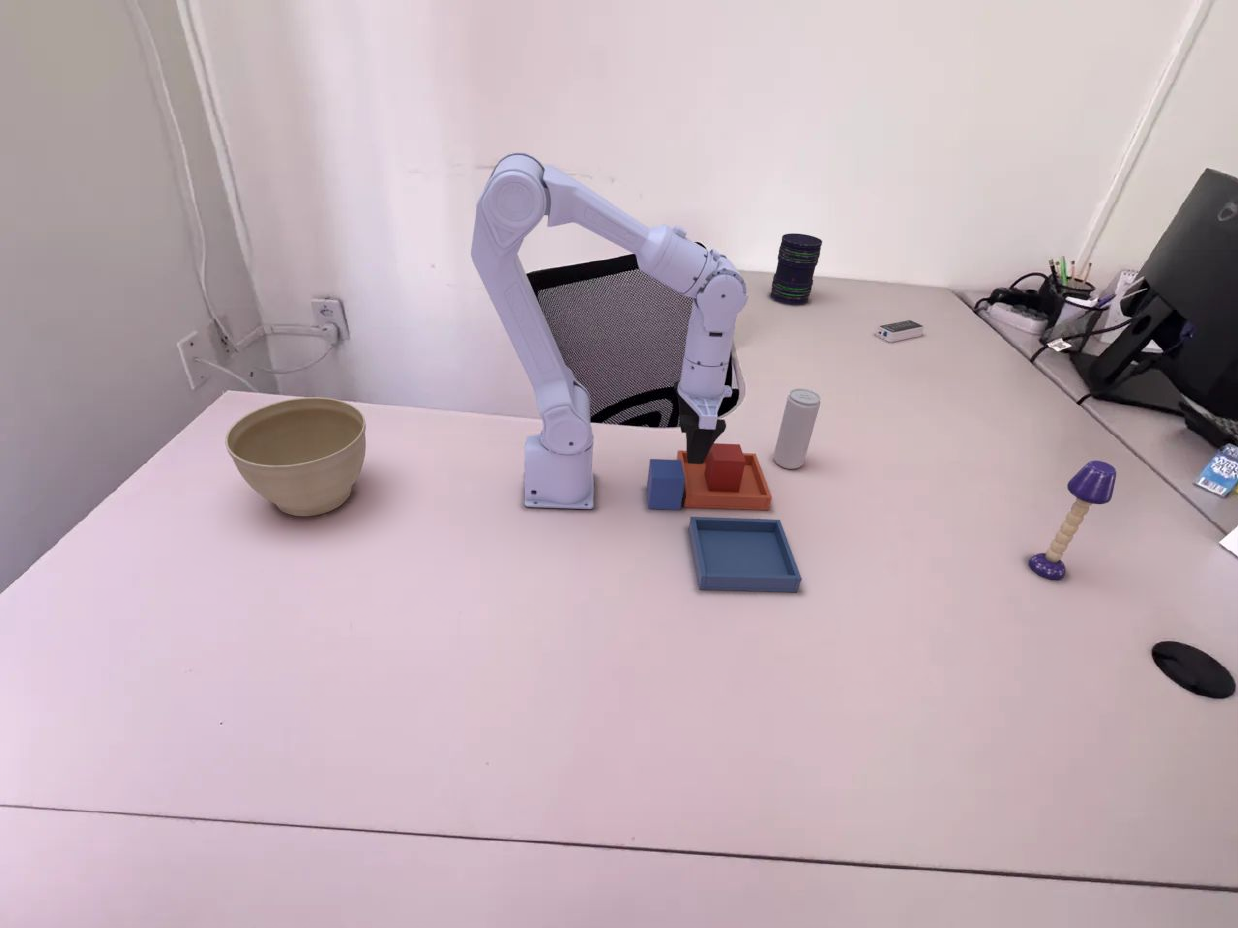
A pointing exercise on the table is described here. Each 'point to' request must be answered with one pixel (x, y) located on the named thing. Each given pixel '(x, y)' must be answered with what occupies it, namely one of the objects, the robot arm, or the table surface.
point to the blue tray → (742, 555)
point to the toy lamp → (1076, 514)
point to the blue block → (665, 484)
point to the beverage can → (796, 428)
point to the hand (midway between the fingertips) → (691, 446)
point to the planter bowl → (300, 452)
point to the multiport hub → (899, 331)
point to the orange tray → (748, 497)
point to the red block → (724, 467)
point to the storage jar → (795, 268)
